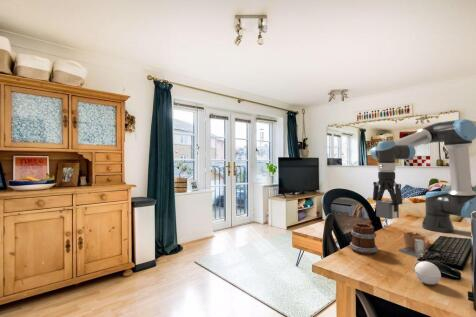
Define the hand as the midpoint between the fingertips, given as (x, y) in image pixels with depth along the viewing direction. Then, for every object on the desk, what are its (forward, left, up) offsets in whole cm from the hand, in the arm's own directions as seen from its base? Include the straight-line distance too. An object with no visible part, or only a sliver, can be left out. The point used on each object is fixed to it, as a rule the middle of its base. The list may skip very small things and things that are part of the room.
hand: (387, 216), depth 126 cm
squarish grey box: (0, 0, 0) cm, 0 cm away
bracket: (-11, +7, -14) cm, 20 cm away
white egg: (+26, +34, -14) cm, 45 cm away
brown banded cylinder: (+18, +2, -14) cm, 23 cm away
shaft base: (-1, +15, -14) cm, 20 cm away
